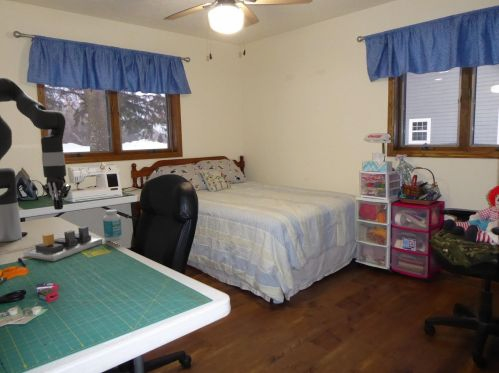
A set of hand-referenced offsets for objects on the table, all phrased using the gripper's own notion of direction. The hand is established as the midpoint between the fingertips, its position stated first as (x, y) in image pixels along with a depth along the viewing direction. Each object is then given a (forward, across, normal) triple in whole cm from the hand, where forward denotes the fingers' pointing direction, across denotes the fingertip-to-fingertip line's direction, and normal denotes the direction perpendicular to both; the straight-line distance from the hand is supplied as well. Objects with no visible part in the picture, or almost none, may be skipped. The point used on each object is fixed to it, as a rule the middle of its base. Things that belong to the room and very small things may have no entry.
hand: (58, 209), depth 137 cm
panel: (+19, -8, +7) cm, 22 cm away
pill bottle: (+19, +2, +25) cm, 32 cm away
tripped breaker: (+15, -8, 0) cm, 17 cm away
